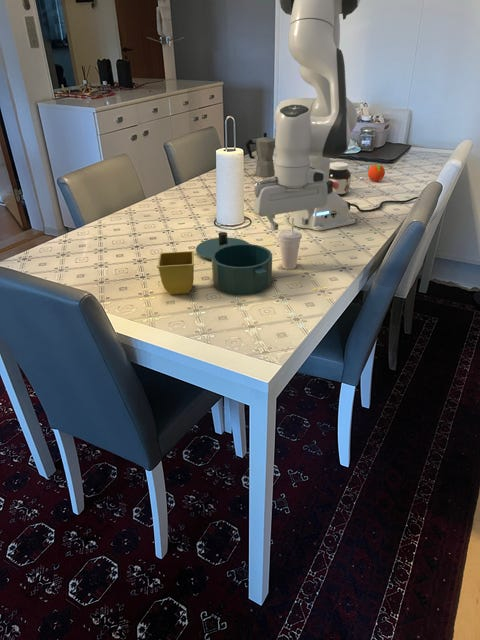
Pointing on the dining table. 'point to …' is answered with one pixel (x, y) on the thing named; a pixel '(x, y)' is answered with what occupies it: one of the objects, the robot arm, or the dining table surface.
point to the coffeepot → (263, 155)
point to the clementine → (376, 172)
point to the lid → (216, 245)
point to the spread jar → (340, 177)
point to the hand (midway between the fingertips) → (290, 227)
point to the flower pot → (177, 271)
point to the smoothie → (289, 246)
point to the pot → (242, 268)
